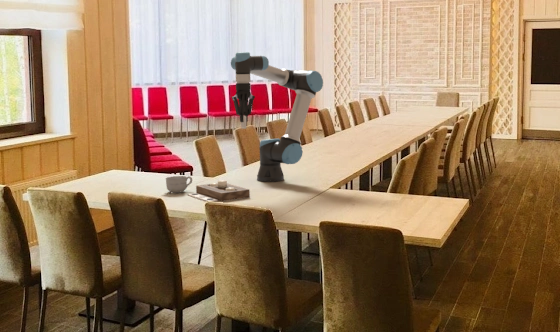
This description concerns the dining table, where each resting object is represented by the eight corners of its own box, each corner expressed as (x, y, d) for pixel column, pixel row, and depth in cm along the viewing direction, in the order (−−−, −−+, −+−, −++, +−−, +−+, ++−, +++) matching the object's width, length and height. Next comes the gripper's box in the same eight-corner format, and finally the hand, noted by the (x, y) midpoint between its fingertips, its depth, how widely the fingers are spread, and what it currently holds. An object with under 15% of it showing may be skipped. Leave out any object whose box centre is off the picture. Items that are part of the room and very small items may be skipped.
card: (196, 194, 373) (196, 192, 373) (217, 200, 355) (217, 199, 355) (187, 195, 370) (187, 193, 370) (208, 202, 352) (208, 200, 352)
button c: (232, 192, 365) (232, 187, 365) (236, 194, 361) (236, 188, 361) (224, 194, 362) (224, 188, 362) (228, 195, 359) (228, 189, 358)
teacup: (167, 194, 372) (167, 179, 371) (165, 190, 383) (164, 175, 382) (194, 192, 376) (194, 177, 375) (191, 189, 386) (191, 174, 385)
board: (223, 189, 384) (223, 182, 383) (249, 197, 363) (249, 189, 362) (196, 193, 375) (196, 185, 374) (221, 201, 354) (221, 193, 353)
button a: (216, 188, 378) (216, 182, 378) (220, 189, 374) (220, 183, 374) (208, 189, 376) (208, 183, 375) (212, 190, 372) (212, 184, 371)
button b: (224, 185, 371) (223, 180, 371) (228, 187, 367) (228, 181, 367) (216, 186, 369) (215, 180, 368) (220, 188, 365) (220, 182, 364)
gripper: (250, 82, 381) (250, 127, 385) (228, 82, 374) (229, 128, 378) (257, 82, 375) (258, 128, 379) (235, 83, 368) (236, 129, 371)
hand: (243, 128), depth 378 cm, fingers closed
